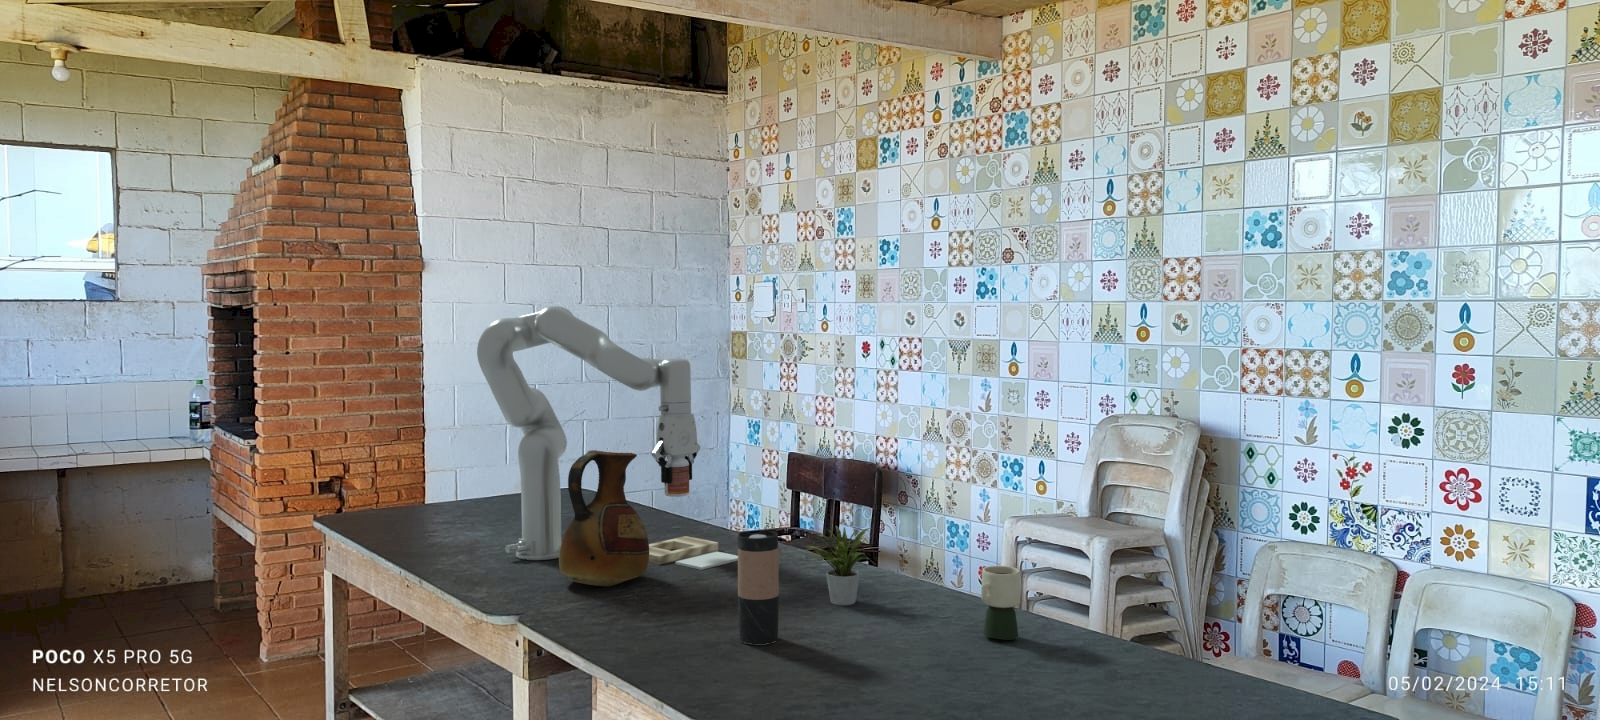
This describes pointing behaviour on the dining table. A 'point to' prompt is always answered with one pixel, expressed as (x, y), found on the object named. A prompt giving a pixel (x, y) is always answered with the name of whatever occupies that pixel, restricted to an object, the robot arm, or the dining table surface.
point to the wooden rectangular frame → (679, 549)
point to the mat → (708, 560)
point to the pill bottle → (678, 477)
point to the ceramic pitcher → (603, 526)
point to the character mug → (1001, 601)
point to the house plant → (842, 567)
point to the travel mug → (758, 587)
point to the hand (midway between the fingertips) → (676, 480)
